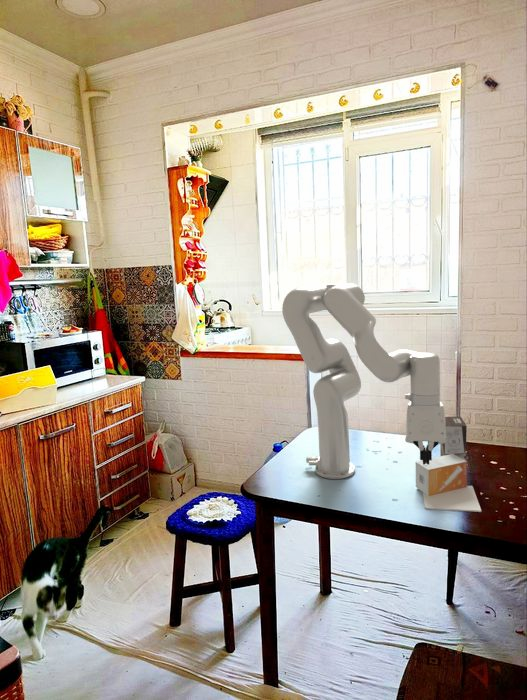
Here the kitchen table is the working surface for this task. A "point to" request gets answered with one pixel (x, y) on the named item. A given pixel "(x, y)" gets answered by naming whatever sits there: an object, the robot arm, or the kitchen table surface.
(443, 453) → the coffee box
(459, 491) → the mat
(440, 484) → the small box
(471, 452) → the kitchen table surface
